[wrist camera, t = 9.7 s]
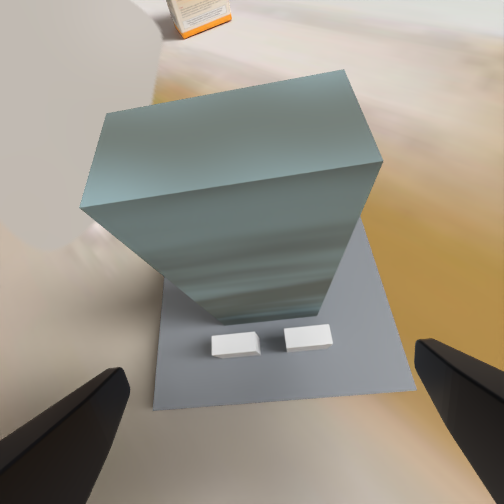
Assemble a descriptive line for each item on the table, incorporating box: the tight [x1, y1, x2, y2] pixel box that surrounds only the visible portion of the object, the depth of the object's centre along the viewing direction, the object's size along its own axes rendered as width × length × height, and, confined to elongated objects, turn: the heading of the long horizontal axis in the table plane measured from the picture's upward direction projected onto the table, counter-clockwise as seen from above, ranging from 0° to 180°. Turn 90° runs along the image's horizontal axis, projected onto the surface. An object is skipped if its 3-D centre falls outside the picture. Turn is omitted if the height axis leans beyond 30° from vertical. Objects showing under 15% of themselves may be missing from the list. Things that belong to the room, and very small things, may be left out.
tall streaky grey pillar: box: [79, 69, 383, 326], centre depth 12 cm, size 4×6×13 cm, turn 94°
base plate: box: [153, 217, 417, 411], centre depth 19 cm, size 20×15×4 cm
